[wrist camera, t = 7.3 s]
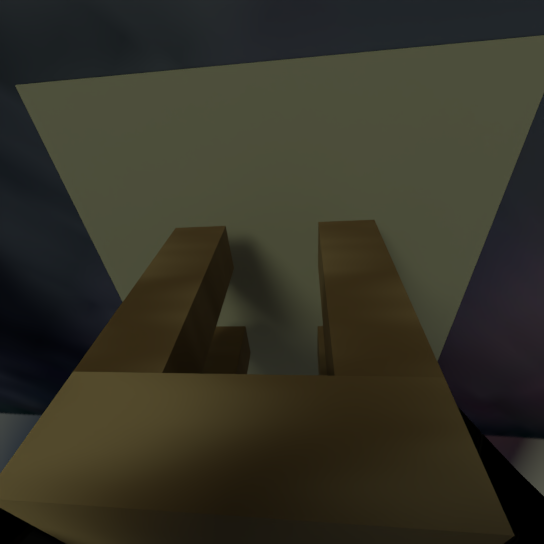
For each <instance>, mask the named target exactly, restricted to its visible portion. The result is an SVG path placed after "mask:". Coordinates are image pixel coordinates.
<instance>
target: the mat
mask: <svg viewBox="0 0 544 544" xmlns="http://www.w3.org/2000/svg"><path fill="white" fill-rule="evenodd" d="M15 86H16V88H17V90H18V92H19V94H20V96H21V98H22V100H23V102H24V104H25V106H26V108H27V110H28V112H29V114H30V116H31V118H32V120H33V122H34V124H35V126H36V128H37V130H38V132H39V135H40V137H41V139H42V141H43V143H44V145H45V147H46V149H47V151H48V153H49V155H50V157H51V159H52V161H53V163H54V165H55V167H56V169H57V171H58V173H59V175H60V177H61V179H62V181H63V183H64V185H65V187H66V189H67V191H68V193H69V195H70V197H71V199H72V201H73V203H74V205H75V207H76V209H77V211H78V213H79V215H80V217H81V219H82V221H83V223H84V225H85V227H86V229H87V231H88V233H89V235H90V237H91V239H92V241H93V243H94V245H95V247H96V249H97V251H98V253H99V255H100V257H101V259H102V261H103V263H104V265H105V267H106V269H107V271H108V273H109V275H110V277H111V279H112V281H113V283H114V285H115V287H116V289H117V291H118V294H119V296H120V298H121V300H122V302H123V301H124V300H125V298H126V297H127V295H128V294H129V293H130V291H131V290H132V288H133V287H134V286H135V284H136V283H137V281H138V280H139V279H140V277H141V276H142V274H143V273H144V272H145V270H146V269H147V267H148V266H149V265H150V263H151V262H152V260H153V259H154V258H155V256H156V255H157V253H158V252H159V251H160V249H161V248H162V246H163V245H164V244H165V242H166V241H167V239H168V238H169V236H170V235H171V234H172V232H173V231H174V229H175V228H186V227H210V226H226V230H227V235H228V240H229V245H230V250H231V255H232V260H233V265H234V270H233V274H232V277H231V280H230V283H229V287H228V290H227V293H226V296H225V300H224V303H223V306H222V309H221V313H220V316H219V319H218V322H217V326H246V332H247V337H248V342H249V347H250V352H251V354H250V360H249V366H248V372H247V374H261V375H319V373H318V356H317V333H318V326H323V321H322V309H321V297H320V284H319V272H318V222H330V221H354V220H375V222H376V225H377V227H378V229H379V231H380V234H381V236H382V238H383V240H384V243H385V245H386V247H387V249H388V252H389V254H390V256H391V258H392V261H393V263H394V265H395V267H396V270H397V272H398V274H399V276H400V279H401V281H402V283H403V285H404V288H405V290H406V292H407V294H408V297H409V299H410V301H411V303H412V306H413V308H414V310H415V312H416V315H417V317H418V319H419V321H420V324H421V326H422V328H423V330H424V333H425V335H426V337H427V339H428V342H429V344H430V346H431V348H432V351H433V353H434V355H435V357H436V360H437V361H438V359H439V356H440V354H441V351H442V349H443V346H444V344H445V341H446V339H447V336H448V334H449V331H450V328H451V326H452V323H453V321H454V318H455V316H456V313H457V311H458V308H459V306H460V303H461V301H462V298H463V296H464V293H465V291H466V288H467V285H468V283H469V280H470V278H471V275H472V273H473V270H474V268H475V265H476V263H477V260H478V258H479V255H480V253H481V250H482V248H483V245H484V242H485V240H486V237H487V235H488V232H489V230H490V227H491V225H492V222H493V220H494V217H495V215H496V212H497V210H498V207H499V204H500V202H501V199H502V197H503V194H504V192H505V189H506V187H507V184H508V182H509V179H510V177H511V174H512V172H513V169H514V167H515V164H516V161H517V159H518V156H519V154H520V151H521V149H522V146H523V144H524V141H525V139H526V136H527V134H528V131H529V129H530V126H531V124H532V121H533V118H534V116H535V113H536V111H537V108H538V106H539V103H540V101H541V98H542V96H543V93H544V35H542V36H531V37H521V38H510V39H499V40H489V41H478V42H467V43H457V44H446V45H436V46H425V47H414V48H404V49H393V50H382V51H372V52H361V53H351V54H340V55H329V56H319V57H308V58H297V59H287V60H276V61H265V62H255V63H244V64H234V65H223V66H212V67H202V68H191V69H180V70H170V71H159V72H149V73H138V74H127V75H117V76H106V77H95V78H85V79H74V80H63V81H53V82H42V83H32V84H22V85H15Z"/></svg>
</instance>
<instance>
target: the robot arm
mask: <svg viewBox="0 0 544 544" xmlns="http://www.w3.org/2000/svg"><path fill="white" fill-rule="evenodd" d="M457 407H458V406H457ZM458 409H459V407H458ZM459 411H460V414H461V416H462V418H463V420H464V423H465V425H466V427H467V429H468V432H469V434H470V436H471V438H472V441H473V443H474V445H475V448H476V450H477V452H478V454H479V457H480V459H481V461H482V463H483V466H484V468H485V470H486V472H487V475H488V477H489V479H490V481H491V484H492V486H493V488H494V490H495V493H496V495H497V497H498V499H499V502H500V504H501V506H502V508H503V511H504V513H505V515H506V517H507V520H508V522H509V524H510V526H511V529H512V531H513V533H514V535H515V536H513V537H512V538H511V539H509V540H508V541H506V542H505V543H504V544H544V496H543V495H542V494H541V493H539V491H538V490H537V489H536V488H534V486H533V485H531V484H530V483H529V482H528V481H527V480H526V479H525V478H524V477H523V476H522V475H521V474H520V473H519V472H518V471H517V470H516V469H515V468H514V467H513V466H512V465H511V464H510V463H509V461H508V460H507V459H506V458H505V457H504V456H503V455H502V454H501V453H500V452H499V451H498V450H497V449H496V448H495V447H494V446H493V444H492V443H491V442H490V441H489V440H488V439H487V438H486V437H485V436H484V435H483V434H481V432H480V430H479V429H478V428H477V427H476V426H475V425H474V424H473V423H472V422H471V421H470V419H469V418H468V417H467V416H466V415H465V414H464V413H463V412H462V411H461V410H460V409H459ZM0 544H66V543H64V542H62V541H60V540H58V539H56V538H55V537H53V536H51V535H49V534H47V533H46V532H44V531H42V530H40V529H38V528H36V527H35V526H33V525H31V524H29V523H27V522H25V521H24V520H22V519H20V518H18V517H16V516H14V515H13V514H11V513H9V512H7V511H5V510H3V509H2V508H0Z"/></svg>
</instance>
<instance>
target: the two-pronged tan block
mask: <svg viewBox="0 0 544 544" xmlns="http://www.w3.org/2000/svg"><path fill="white" fill-rule="evenodd" d="M233 270H234V265H233V260H232V255H231V250H230V245H229V240H228V235H227V230H226V226H210V227H186V228H175V229H174V231H173V232H172V234H171V235H170V236H169V238H168V239H167V241H166V242H165V244H164V245H163V246H162V248H161V249H160V251H159V252H158V253H157V255H156V256H155V258H154V259H153V260H152V262H151V263H150V265H149V266H148V267H147V269H146V270H145V272H144V273H143V274H142V276H141V277H140V279H139V280H138V281H137V283H136V284H135V286H134V287H133V288H132V290H131V291H130V293H129V294H128V295H127V297H126V298H125V300H124V301H123V302H122V304H121V305H120V307H119V308H118V309H117V311H116V312H115V314H114V315H113V316H112V318H111V319H110V321H109V322H108V323H107V325H106V326H105V328H104V329H103V330H102V332H101V333H100V335H99V336H98V337H97V339H96V340H95V342H94V343H93V344H92V346H91V347H90V349H89V350H88V351H87V353H86V354H85V356H84V357H83V358H82V360H81V361H80V363H79V364H78V365H77V367H76V368H75V370H74V371H73V372H72V374H71V375H70V377H69V378H68V379H67V381H66V382H65V384H64V385H63V386H62V388H61V389H60V391H59V392H58V393H57V395H56V396H55V398H54V399H53V401H52V402H51V403H50V405H49V406H48V408H47V409H46V410H45V412H44V413H43V415H42V416H41V417H40V419H39V420H38V422H37V423H36V424H35V426H34V427H33V429H32V430H31V431H30V433H29V434H28V436H27V437H26V438H25V440H24V441H23V443H22V444H21V445H20V447H19V448H18V450H17V451H16V453H15V454H14V455H13V457H12V458H11V459H10V461H9V462H8V464H7V465H6V466H5V468H4V469H3V471H2V472H1V474H0V508H2V509H3V510H5V511H7V512H9V513H11V514H13V515H14V516H16V517H18V518H20V519H22V520H24V521H25V522H27V523H29V524H31V525H33V526H35V527H36V528H38V529H40V530H42V531H44V532H46V533H47V534H49V535H51V536H53V537H55V538H56V539H58V540H60V541H62V542H64V543H66V544H504V543H505V542H506V541H508V540H509V539H511V538H512V537H513V536H515V535H514V533H513V531H512V529H511V526H510V524H509V522H508V520H507V517H506V515H505V513H504V511H503V508H502V506H501V504H500V502H499V499H498V497H497V495H496V493H495V490H494V488H493V486H492V484H491V481H490V479H489V477H488V475H487V472H486V470H485V468H484V466H483V463H482V461H481V459H480V457H479V454H478V452H477V450H476V448H475V445H474V443H473V441H472V438H471V436H470V434H469V432H468V429H467V427H466V425H465V423H464V420H463V418H462V416H461V414H460V411H459V409H458V407H457V405H456V402H455V400H454V398H453V396H452V393H451V391H450V389H449V387H448V384H447V382H446V380H445V378H444V375H443V373H442V371H441V369H440V366H439V364H438V362H437V360H436V357H435V355H434V353H433V351H432V348H431V346H430V344H429V342H428V339H427V337H426V335H425V333H424V330H423V328H422V326H421V324H420V321H419V319H418V317H417V315H416V312H415V310H414V308H413V306H412V303H411V301H410V299H409V297H408V294H407V292H406V290H405V288H404V285H403V283H402V281H401V279H400V276H399V274H398V272H397V270H396V267H395V265H394V263H393V261H392V258H391V256H390V254H389V252H388V249H387V247H386V245H385V243H384V240H383V238H382V236H381V234H380V231H379V229H378V227H377V225H376V222H375V220H354V221H330V222H318V272H319V284H320V297H321V309H322V321H323V326H318V333H317V356H318V373H319V375H261V374H247V372H248V366H249V360H250V354H251V352H250V347H249V342H248V337H247V332H246V326H217V322H218V319H219V316H220V313H221V309H222V306H223V303H224V300H225V296H226V293H227V290H228V287H229V283H230V280H231V277H232V274H233Z"/></svg>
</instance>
